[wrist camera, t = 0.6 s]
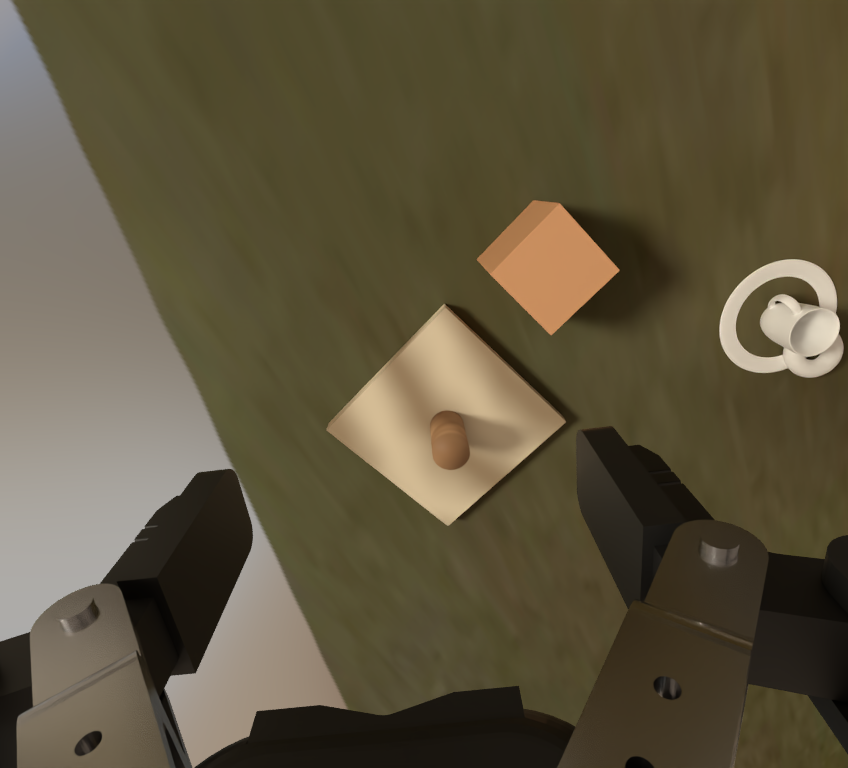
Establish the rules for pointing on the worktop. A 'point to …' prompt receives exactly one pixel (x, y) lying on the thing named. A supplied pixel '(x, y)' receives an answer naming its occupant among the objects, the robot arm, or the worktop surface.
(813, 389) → the worktop surface
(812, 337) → the white ring and cup
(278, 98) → the worktop surface
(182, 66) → the worktop surface
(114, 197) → the worktop surface
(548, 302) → the salmon cube
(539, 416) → the post base
